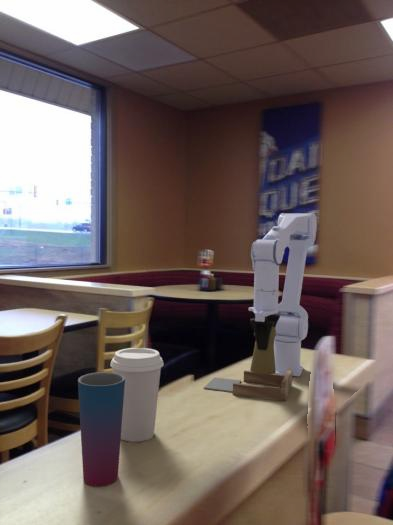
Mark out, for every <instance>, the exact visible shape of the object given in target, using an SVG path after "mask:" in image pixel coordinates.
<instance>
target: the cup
mask: <svg viewBox="0 0 393 525" xmlns="http://www.w3.org/2000/svg"><path fill="white" fill-rule="evenodd" d="M77 387H78V404H79V405H78V406H79V424H80V438H81V439H80V441H81V444H80V445H81V457H82V459H81V461H82V474H83V475H82V479H83V480H82V481H83V482H84V484H86V485H88V486H90V487H97V488H99V487H106V486H109V485H111V484H113V483H115V482H116V481H117V480H118V478H119V465H120V454H121V453H120V451H121V440H122V439H121V428H122V414H123V401H124V387H125V377H124V376H123V375H121V374H118V373H113V372H109V371H108V372H107V371H102V372H101V371H99V372H97V371H96V372H91V373H86V374H84V375H81V376H80V377H78V379H77Z"/></svg>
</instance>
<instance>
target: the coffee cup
mask: <svg viewBox="0 0 393 525" xmlns="http://www.w3.org/2000/svg"><path fill="white" fill-rule="evenodd" d="M164 365H165V364H164V360H163V358H162V357H161V355H160V352H159V351H158V350H156V349H153V348H147V347H130V348H123V349H119V350H117V351H115V353H114V356H113V357H112V359H111V361H110V367H111V368H112V371H113V372H112V373H118V374H121V375H123V376H124V377H125V387H124V401H123V414H122V428H121V440H122V441H125V442H129V443H139V442H145V441H148V440H150V439H152V438H153V437H154V435H155V428H156V420H157V418H156V417H157V407H158V398H159V387H160V378H161V369H162V367H164Z"/></svg>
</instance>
